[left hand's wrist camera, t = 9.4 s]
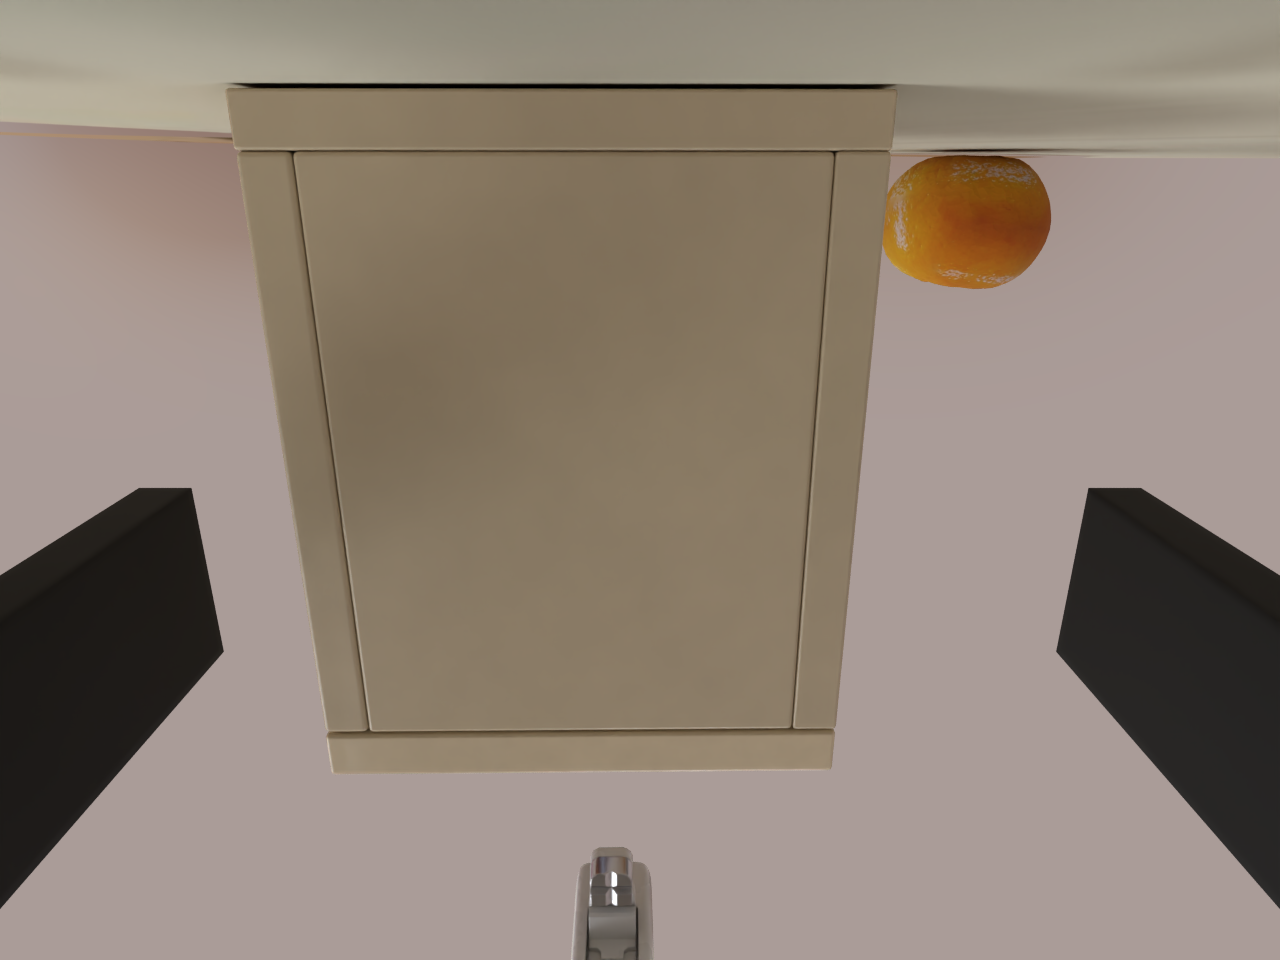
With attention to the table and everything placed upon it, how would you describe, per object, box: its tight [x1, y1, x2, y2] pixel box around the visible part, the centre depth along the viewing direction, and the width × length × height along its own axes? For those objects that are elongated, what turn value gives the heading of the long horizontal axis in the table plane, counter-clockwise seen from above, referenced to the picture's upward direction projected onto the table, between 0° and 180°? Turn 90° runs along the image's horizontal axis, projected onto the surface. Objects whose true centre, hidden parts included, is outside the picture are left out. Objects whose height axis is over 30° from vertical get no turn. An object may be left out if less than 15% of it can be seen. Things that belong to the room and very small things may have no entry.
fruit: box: [882, 155, 1051, 289], centre depth 46 cm, size 8×8×8 cm
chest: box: [226, 88, 897, 732], centre depth 19 cm, size 13×9×10 cm
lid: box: [326, 725, 835, 774], centre depth 23 cm, size 13×9×9 cm
